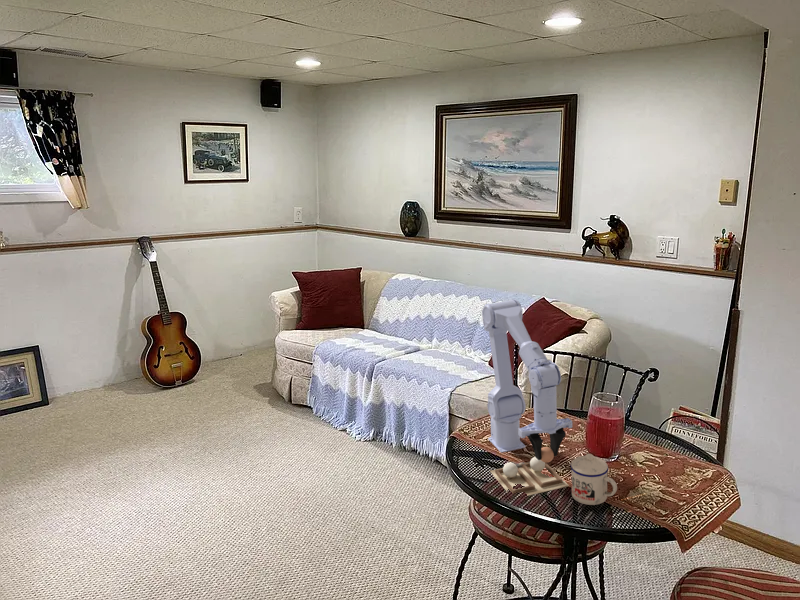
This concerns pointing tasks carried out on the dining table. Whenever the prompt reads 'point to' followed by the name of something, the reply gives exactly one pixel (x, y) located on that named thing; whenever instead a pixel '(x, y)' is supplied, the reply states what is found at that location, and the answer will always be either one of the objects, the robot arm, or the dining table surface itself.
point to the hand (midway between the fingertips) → (546, 456)
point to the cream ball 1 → (510, 470)
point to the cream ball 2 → (537, 464)
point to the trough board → (529, 479)
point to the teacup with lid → (590, 480)
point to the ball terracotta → (547, 454)
